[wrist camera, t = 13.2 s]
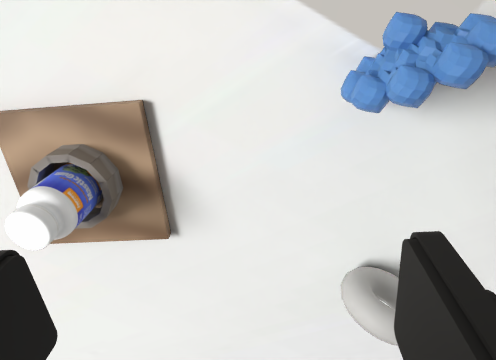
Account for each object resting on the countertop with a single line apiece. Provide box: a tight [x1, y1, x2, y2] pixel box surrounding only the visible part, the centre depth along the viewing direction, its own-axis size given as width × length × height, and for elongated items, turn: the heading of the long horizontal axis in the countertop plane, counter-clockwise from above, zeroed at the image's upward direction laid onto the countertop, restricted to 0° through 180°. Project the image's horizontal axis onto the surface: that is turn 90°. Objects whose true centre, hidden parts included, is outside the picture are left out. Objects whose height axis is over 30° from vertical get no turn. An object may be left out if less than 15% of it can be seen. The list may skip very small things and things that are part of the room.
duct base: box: [0, 100, 171, 244], centre depth 38 cm, size 16×16×4 cm
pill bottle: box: [5, 163, 103, 250], centre depth 35 cm, size 5×5×10 cm
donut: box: [341, 267, 399, 345], centre depth 39 cm, size 10×4×10 cm, turn 72°
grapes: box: [341, 12, 496, 113], centre depth 27 cm, size 12×7×12 cm, turn 120°
